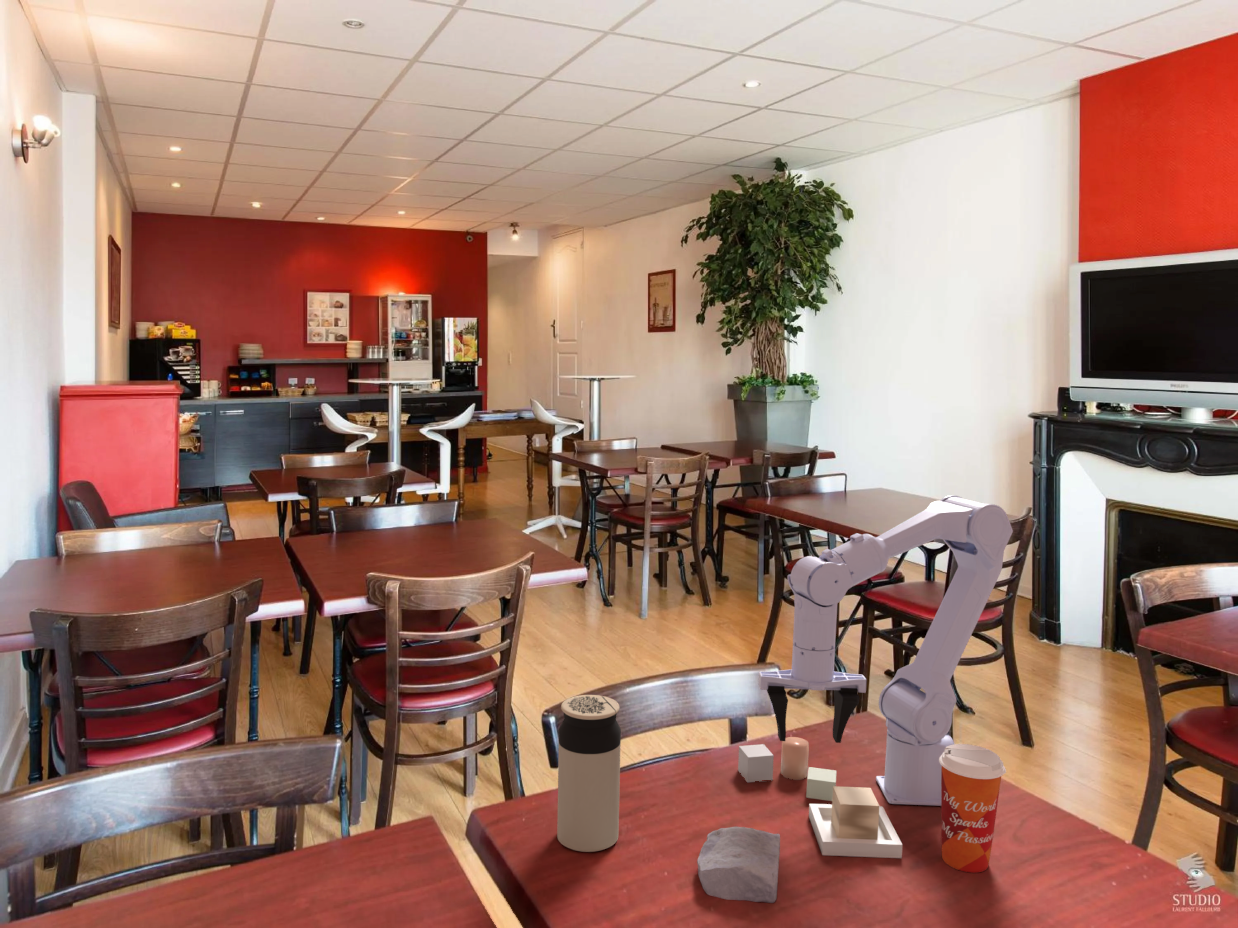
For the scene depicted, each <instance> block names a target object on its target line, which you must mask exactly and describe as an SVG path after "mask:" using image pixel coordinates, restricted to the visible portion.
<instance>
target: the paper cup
mask: <svg viewBox="0 0 1238 928" xmlns="http://www.w3.org/2000/svg"><path fill="white" fill-rule="evenodd" d="M939 762H940V764H941V765H942V769H941V806H940V807H941V810H940V813H941V815H940V817H941V819H940V821H941V822H940V823H941V826H940V830H941V831H940V832H941V835H940V836H941V838H940V839H941V841H940V842H941V844H940V845H941V859H942V861H943V862H944V863H945V864H946V865H947V866H949V867H951V868H953V869H954V870H957V871H959V872H960V871H961V872H963V873H969V874H971V873H972V874H973V873H974V874H977V873H982V872H985V871H986V870H988V868H989V863H990V858H991V852H992V847H993V838H994V833H995V824H996V818H997V810H998V803H999V796H1000V790H1001V789H1000V788H1001V782H1002V776H1003V775H1005V774H1006V773H1007V769H1006V767H1005V766H1004V762H1003V760H1002V759H1001V757H1000V755H998V753H996V752H994V751H993V750H990V749H989V748H986V747H982V746H980V745H973V744H968V743H954V745H949V746H947V747H946V748H945V749H944V752H943V754H942V755H941V756H940V758H939Z"/></svg>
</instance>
